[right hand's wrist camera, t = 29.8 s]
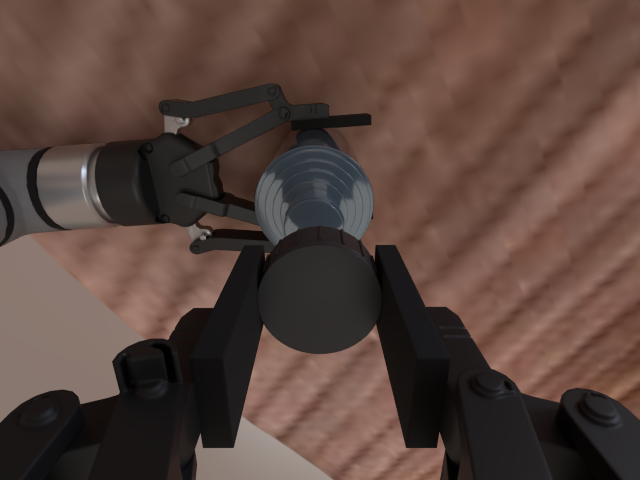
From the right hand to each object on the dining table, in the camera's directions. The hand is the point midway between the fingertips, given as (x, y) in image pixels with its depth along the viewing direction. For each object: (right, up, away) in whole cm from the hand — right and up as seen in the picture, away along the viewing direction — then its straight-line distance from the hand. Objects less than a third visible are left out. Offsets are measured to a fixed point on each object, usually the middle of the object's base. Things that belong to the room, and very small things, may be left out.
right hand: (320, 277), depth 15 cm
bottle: (0, +10, +24) cm, 26 cm away
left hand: (+4, +8, +18) cm, 21 cm away
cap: (0, -1, -1) cm, 2 cm away
